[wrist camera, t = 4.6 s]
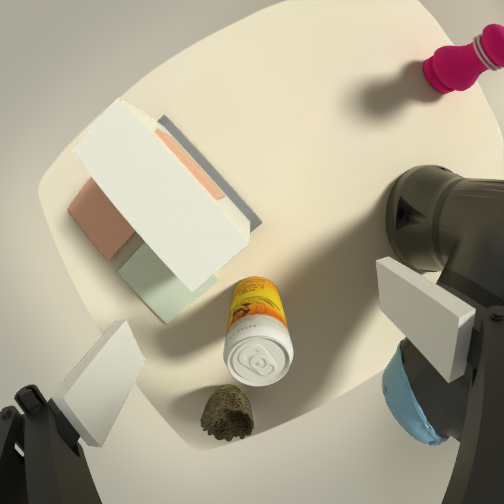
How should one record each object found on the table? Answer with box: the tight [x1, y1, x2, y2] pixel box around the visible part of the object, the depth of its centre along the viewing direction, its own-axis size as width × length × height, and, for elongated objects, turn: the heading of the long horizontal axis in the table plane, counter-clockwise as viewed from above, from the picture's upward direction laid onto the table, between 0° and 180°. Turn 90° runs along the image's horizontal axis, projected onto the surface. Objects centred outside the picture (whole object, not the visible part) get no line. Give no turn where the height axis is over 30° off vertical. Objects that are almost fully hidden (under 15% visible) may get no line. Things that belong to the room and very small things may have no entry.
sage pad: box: [118, 242, 219, 324], centre depth 35 cm, size 10×10×1 cm
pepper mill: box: [423, 24, 504, 93], centre depth 19 cm, size 7×7×20 cm
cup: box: [200, 385, 254, 441], centre depth 36 cm, size 8×7×8 cm
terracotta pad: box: [68, 177, 136, 261], centre depth 33 cm, size 10×10×1 cm
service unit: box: [72, 97, 262, 292], centre depth 26 cm, size 18×8×14 cm, turn 41°
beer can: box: [223, 276, 293, 386], centre depth 29 cm, size 6×6×15 cm
